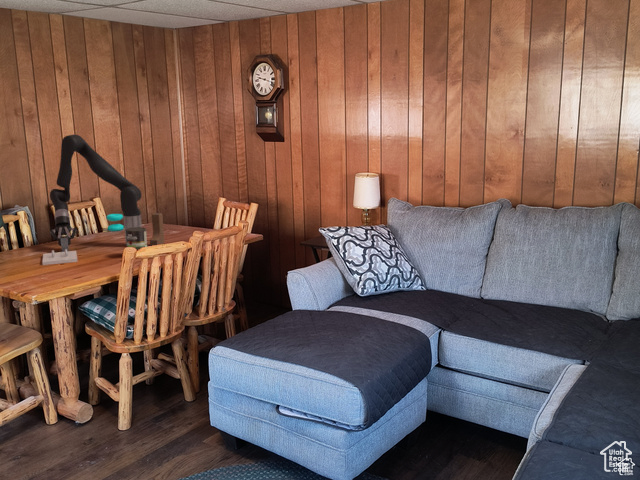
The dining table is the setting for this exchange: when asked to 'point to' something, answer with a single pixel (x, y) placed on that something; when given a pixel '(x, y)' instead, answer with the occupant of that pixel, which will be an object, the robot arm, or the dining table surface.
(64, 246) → the block
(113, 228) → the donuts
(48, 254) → the grey peg board
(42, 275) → the dining table surface
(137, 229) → the coffee can
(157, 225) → the wooden block
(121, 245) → the dining table surface
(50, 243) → the dining table surface
